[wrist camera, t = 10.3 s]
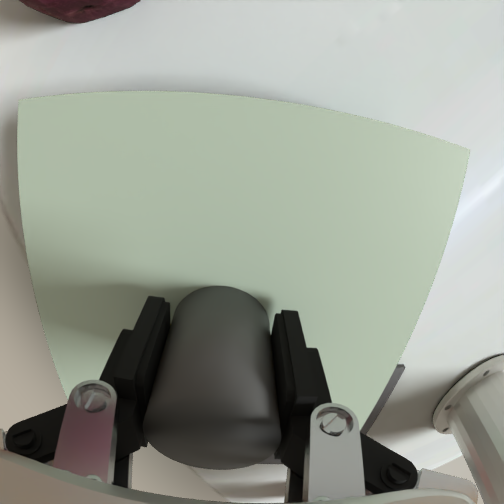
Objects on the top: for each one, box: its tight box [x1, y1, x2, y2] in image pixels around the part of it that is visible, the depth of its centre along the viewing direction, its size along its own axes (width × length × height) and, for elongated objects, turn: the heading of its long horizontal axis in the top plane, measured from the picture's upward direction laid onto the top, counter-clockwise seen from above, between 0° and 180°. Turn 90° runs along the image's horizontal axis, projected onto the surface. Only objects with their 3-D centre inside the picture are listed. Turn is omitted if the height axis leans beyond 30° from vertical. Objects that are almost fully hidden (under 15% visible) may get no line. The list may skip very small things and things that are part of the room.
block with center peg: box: [17, 91, 470, 470], centre depth 13 cm, size 16×16×12 cm
